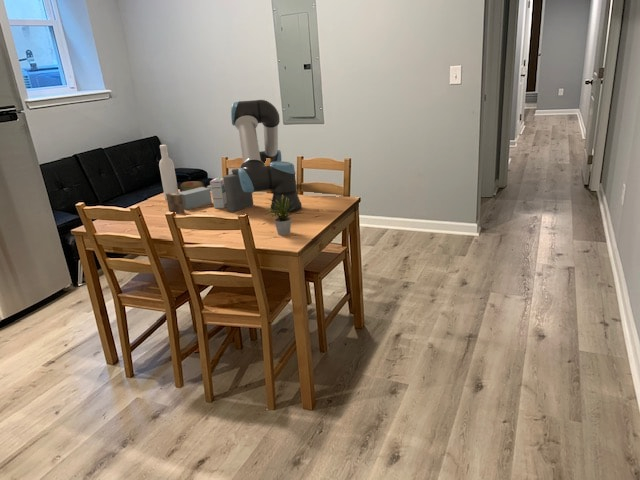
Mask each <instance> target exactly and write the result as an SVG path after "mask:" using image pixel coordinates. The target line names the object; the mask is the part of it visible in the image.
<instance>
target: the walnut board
mask: <svg viewBox="0 0 640 480" xmlns="http://www.w3.org/2000/svg"><path fill="white" fill-rule="evenodd" d="M166 197H167V200H166V201H167V202H166V203H167V207H168V211H170V212H174V211H175V212H174V213H179V214H181V213H185V209H184V207H183V201H182V195H181V194H175V193H167V194H166Z"/></svg>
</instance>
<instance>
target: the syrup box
mask: <svg viewBox="0 0 640 480" xmlns="http://www.w3.org/2000/svg"><path fill="white" fill-rule="evenodd" d="M210 185H211V191H210V192H211V198H212V203H213V207H214V208H213V209H225V208H227V202H226V195H225V187H224V180H223V177H216V178H213V179H211V180H210V181H209V186H210Z"/></svg>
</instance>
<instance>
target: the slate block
mask: <svg viewBox="0 0 640 480" xmlns="http://www.w3.org/2000/svg"><path fill="white" fill-rule="evenodd" d="M177 194H181V195H182V201H183V207H184V210H191V209H194V208H199V207H202V206H208V205H210V204H212V203H213V199H212V192H211V191H210V189H209V188H207V187H206V186H205V187H200V188H195V189H191V190H187V191H183V192H180V191H178V193H177Z"/></svg>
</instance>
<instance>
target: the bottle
mask: <svg viewBox="0 0 640 480" xmlns="http://www.w3.org/2000/svg"><path fill="white" fill-rule="evenodd" d="M159 149H160V155H161V159H160V160H159V163H158V166H159V171H160V178H161V184H162V189H163V197H164V199H165V200H166V201H167V197H166V194H167V193H175V194H177V193H178V192H179V189H178V187H179V186H178V182H177V175H176V171H175V163H174V161H173V160H172V158H171V157H169V153H168V146H167V144H160V145H159Z"/></svg>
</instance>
